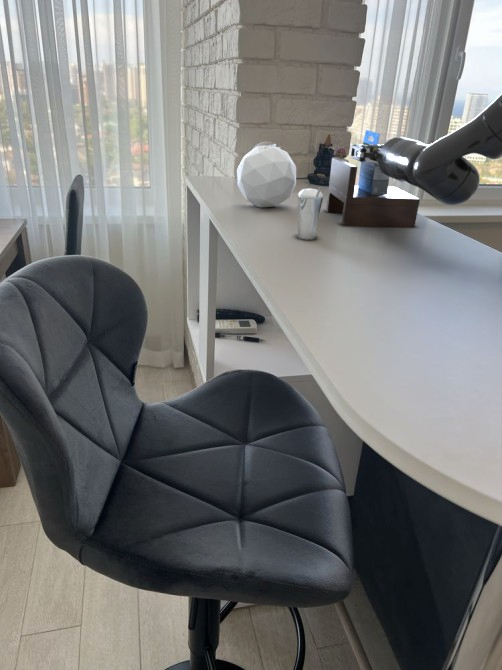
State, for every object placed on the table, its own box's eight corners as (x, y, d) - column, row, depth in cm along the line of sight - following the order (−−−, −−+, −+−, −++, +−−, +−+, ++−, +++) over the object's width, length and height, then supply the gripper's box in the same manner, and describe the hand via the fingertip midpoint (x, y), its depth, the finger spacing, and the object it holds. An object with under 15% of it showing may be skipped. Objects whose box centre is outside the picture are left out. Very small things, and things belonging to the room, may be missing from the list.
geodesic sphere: (260, 171, 130) (246, 124, 118) (311, 178, 124) (303, 129, 112) (236, 214, 124) (219, 170, 112) (289, 224, 119) (277, 178, 106)
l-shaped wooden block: (390, 212, 121) (399, 159, 116) (414, 227, 109) (425, 169, 104) (325, 210, 119) (332, 157, 114) (343, 225, 107) (350, 166, 101)
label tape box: (387, 195, 108) (398, 134, 102) (369, 195, 107) (379, 133, 102) (372, 187, 116) (381, 130, 110) (355, 187, 115) (363, 129, 109)
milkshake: (303, 242, 94) (308, 187, 89) (290, 235, 98) (295, 182, 93) (324, 241, 95) (331, 186, 91) (311, 233, 100) (316, 181, 95)
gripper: (445, 140, 94) (410, 132, 109) (372, 137, 92) (346, 129, 107) (436, 181, 98) (403, 168, 112) (365, 179, 96) (341, 166, 110)
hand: (375, 149), depth 109 cm, fingers open, 8 cm apart
